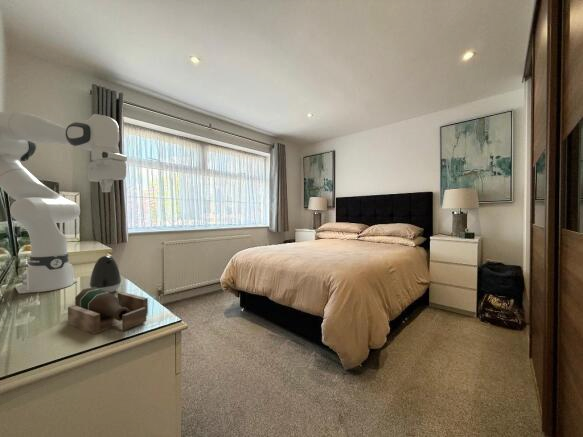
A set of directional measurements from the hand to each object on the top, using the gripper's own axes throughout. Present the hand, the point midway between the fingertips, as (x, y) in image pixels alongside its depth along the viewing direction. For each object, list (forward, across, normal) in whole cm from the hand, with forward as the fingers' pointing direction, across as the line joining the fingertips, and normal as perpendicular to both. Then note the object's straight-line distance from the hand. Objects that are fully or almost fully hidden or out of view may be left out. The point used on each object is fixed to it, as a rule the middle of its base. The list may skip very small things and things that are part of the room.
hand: (106, 192), depth 95 cm
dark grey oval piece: (+41, -3, +1) cm, 41 cm away
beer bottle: (+37, +12, -12) cm, 40 cm away
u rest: (+41, +28, -12) cm, 51 cm away
